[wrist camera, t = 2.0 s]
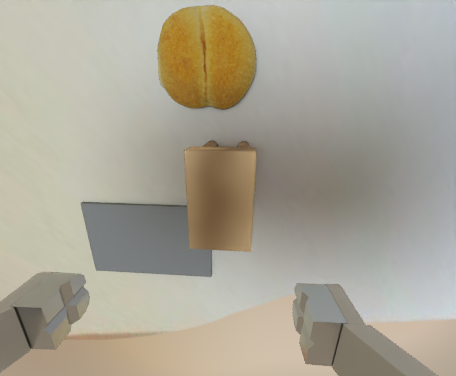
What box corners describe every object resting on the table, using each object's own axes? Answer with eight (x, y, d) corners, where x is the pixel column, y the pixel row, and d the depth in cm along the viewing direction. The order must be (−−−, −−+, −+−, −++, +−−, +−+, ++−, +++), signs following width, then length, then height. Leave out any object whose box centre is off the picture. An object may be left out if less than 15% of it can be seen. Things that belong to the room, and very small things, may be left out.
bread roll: (252, 109, 22) (254, 108, 18) (167, 107, 22) (151, 105, 18) (258, 12, 19) (262, -14, 15) (161, 12, 19) (142, -14, 16)
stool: (251, 139, 22) (256, 151, 14) (248, 208, 25) (250, 251, 17) (204, 138, 23) (184, 150, 15) (206, 206, 25) (189, 248, 17)
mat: (210, 206, 25) (210, 208, 25) (211, 274, 28) (211, 276, 28) (82, 202, 26) (80, 203, 26) (97, 268, 29) (96, 270, 29)
